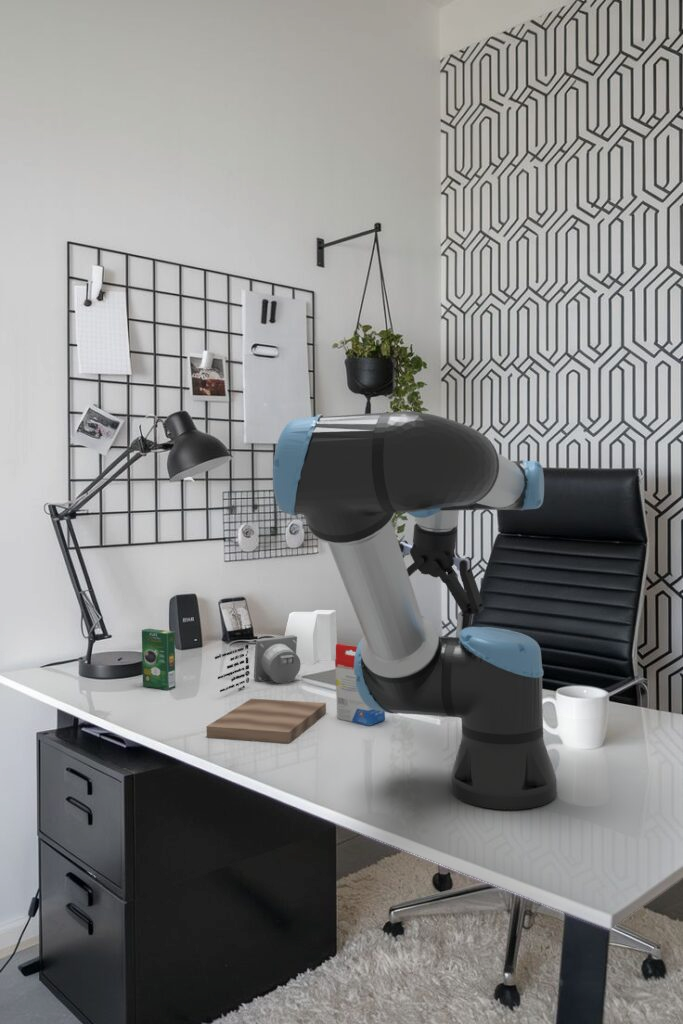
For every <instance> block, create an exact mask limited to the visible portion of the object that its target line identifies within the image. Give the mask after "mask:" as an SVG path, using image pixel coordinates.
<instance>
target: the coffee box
mask: <svg viewBox="0 0 683 1024" xmlns="http://www.w3.org/2000/svg"><path fill="white" fill-rule="evenodd" d="M175 636H176V635H175V631H172V630H162V629H156V628H155V629H154V628H145V629H141V653H142V657H141V660H142V687H145V688H149V689H150V688H152V689H160V690H162V691H163V690H165V691H170V690H173V689H175V688H176V652H175V651H176V646H175V645H176V640H175V639H176V638H175Z"/></svg>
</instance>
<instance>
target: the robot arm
mask: <svg viewBox="0 0 683 1024" xmlns="http://www.w3.org/2000/svg"><path fill="white" fill-rule="evenodd" d="M279 435H280V436H279V437H278V440H277V443H276V445H275V446H276V447H275V452H274V457H273V466H272V486H273V487H272V488H273V494H274V495H273V496H274V498H275V502H276V504H277V507H278V508H279V510H280V511H281V512H282V513H283V514H286V515H287V514H288V515H291V516H297V515H303V517H304V520H305V521H306V524H307V526H308V529H309V532H311V534H313V536H315V538H317V539H318V540H320V541H322V542H324V543H327V544H328V546H329V549H330V552H331V555H332V557H333V560H334V563H335V564H336V567H337V570H338V572H339V575H340V578H341V579H342V583H343V585H344V587H345V590H346V593H347V595H348V598H349V600H350V603H351V605H352V607H353V610H354V613H355V616H356V618H357V621H358V624H359V625H360V628H361V630H362V634H363V637H362V638H361V639H360V641H359V643H358V645H356V646H357V649H356V652H354V655H355V659H354V674H355V675H356V681H355V682H356V687H357V690H358V693H359V695H360V697H361V699H362V700H363V702H364V703H365V704H366V705H367V706H368V707H369V708H371V709H374V710H377V711H384V712H385V713H388V714H394V715H395V714H396V715H397V714H405V715H420V716H434V717H435V716H436V717H437V716H438V717H448V718H449V717H450V718H459V719H461V740H460V744H459V745H458V746H459V747H458V750H457V754H456V756H455V760H454V762H453V766H452V770H451V774H450V786H451V787H450V790H451V792H452V794H453V796H454V797H456V798H457V799H459V800H460V801H463V802H464V803H467V804H470V805H472V806H476V807H477V806H478V807H480V808H481V807H482V808H485V809H486V808H487V809H492V810H493V809H494V810H507V811H508V810H510V811H511V810H512V811H513V810H524V809H532V808H537V807H541V806H544V805H546V804H548V803H550V802H551V801H553V800H554V799H555V798H556V796H557V793H558V792H557V791H558V790H557V777H556V776H557V775H556V773H555V769H554V767H553V764H552V762H551V759H550V755H549V753H548V749H547V747H546V744H545V740H544V715H543V713H544V712H543V711H544V710H543V705H544V704H543V676H544V669H543V664H542V663H543V662H542V651H541V647H540V645H539V643H538V641H536V640H535V639H534V638H532V637H530V636H529V635H526V634H524V633H523V632H518V631H514V630H511V629H505V628H500V627H498V628H497V627H491V626H489V627H488V626H483V627H480V626H472V622H473V615H479V614H480V613H481V612H482V611H483V610H484V608H485V605H484V603H483V602H484V601H483V600H482V599H483V598H482V596H481V594H480V590H479V587H478V584H477V582H476V579H475V576H474V572H473V570H472V558H471V557H470V556H466V557H465V558H463V557H462V558H461V557H457V556H456V554H455V550H456V543H457V533H458V529H457V525H458V522H459V514H460V511H484V510H485V511H490V510H492V511H502V510H503V511H524V510H536V509H539V508H540V507H541V506H542V505H543V503H544V497H545V476H544V468H543V466H542V464H541V463H540V462H539V461H538V460H525V459H521V460H510V459H509V458H507V457H506V456H504V455H502V454H500V453H498V451H497V449H496V447H495V446H494V444H493V443H492V441H491V440H490V439H489V438H488V437H487V436H485V434H483V433H481V432H480V431H478V430H476V429H475V428H473V427H471V426H468V425H466V424H463V423H460V422H458V421H456V420H453V419H450V418H446V417H442V416H439V415H436V414H435V415H434V414H431V413H426V412H420V411H407V410H404V411H403V410H402V411H401V410H399V411H395V412H393V411H392V412H375V413H360V414H359V413H358V414H345V415H344V414H343V415H332V416H331V415H330V416H329V415H328V416H324V415H323V414H320V413H319V414H317V415H316V416H310V417H309V416H307V417H299V418H295V419H292V420H291V421H289V422H288V423H287V424H286V425H285V426H284V428H283V429H282V431H281V433H280V434H279ZM399 513H400V514H401V513H407V514H408V515H409V516H412V517H413V518H414V522H415V524H414V526H413V533H412V534H413V535H412V545H411V544H409V543H408V541H407V540H402V541H401V542H399V540H398V537H397V534H396V531H395V527H394V525H393V519H394V517H395V515H396V514H399ZM408 554H410V557H411V558H412V560H413V563H411V565H409V566H408V567H407V566H406V563H405V559H404V558H405V556H407V555H408ZM453 566H456V570H457V571H459V576H460V579H461V582H462V584H461V582H460V580H459V579H458V577H457V573H456V570H455V569H454V567H453ZM417 570H418V571H419V572H420V574H423V575H430V576H431V577H433V578H436V579H437V578H440V580H441V582H442V583H444V584H445V586H446V588H447V589H448V590H449V592H450V594H451V596H452V597H453V600H454V601H455V602H456V604H457V605H458V607H459V609H460V612H458V614H457V623H456V630H455V637H454V636H439V632H438V631H437V628H436V626H435V625H434V623H433V622H432V621H431V620H430V619H429V618H427V617H426V616H424V615H422V613H421V611H420V607H419V604H418V600H417V598H416V594H415V591H414V589H413V588H414V587H413V585H412V581H411V578H410V577H411V576H412V575H413V574H414V573H415V572H417ZM463 587H464V588H463Z"/></svg>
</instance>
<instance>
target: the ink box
mask: <svg viewBox="0 0 683 1024" xmlns="http://www.w3.org/2000/svg"><path fill="white" fill-rule="evenodd" d="M357 646H358V645H350V644H341V643H337V644H336V657H335V658H334V665H335V667H334V668H335V669H334V670H335V692H336V696H335V697H336V717H337V719H338V720H342V721H346V722H351V723H355V724H360V725H363V726H364V725H365V726H368V727H369V726H372V725H375V724H378V723H382V722H383V721H385V720H386V717H385V716H386V712H384V711H377V710H374V709H371V708H369V707H368V706H367V705H366V704H365V703H364V702H363V700H362V699H361V697H360V695H359V693H358V690H357V687H356V682H355V681H356V675H355V674H354V659H355V654H349V653H347V652H350V651H352V652H354V653H356V649H357Z"/></svg>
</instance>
